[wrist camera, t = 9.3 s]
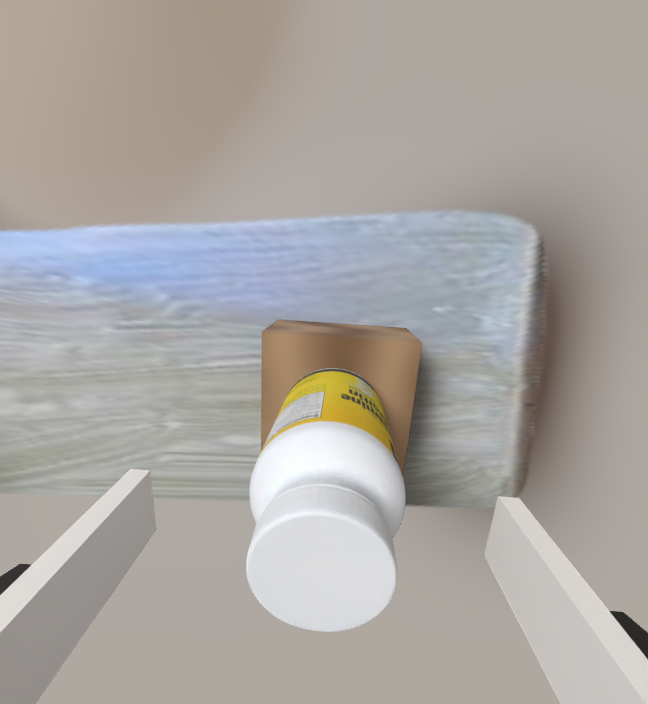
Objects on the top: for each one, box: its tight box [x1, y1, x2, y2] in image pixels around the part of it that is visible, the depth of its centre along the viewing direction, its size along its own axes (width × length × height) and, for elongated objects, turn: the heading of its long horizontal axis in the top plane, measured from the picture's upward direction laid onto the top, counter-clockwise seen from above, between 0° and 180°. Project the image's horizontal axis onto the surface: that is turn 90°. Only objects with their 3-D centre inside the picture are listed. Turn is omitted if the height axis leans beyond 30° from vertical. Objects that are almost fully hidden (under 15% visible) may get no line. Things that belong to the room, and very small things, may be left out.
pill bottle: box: [246, 368, 406, 632], centre depth 15 cm, size 6×6×12 cm
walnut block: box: [261, 320, 422, 476], centre depth 23 cm, size 10×10×5 cm
